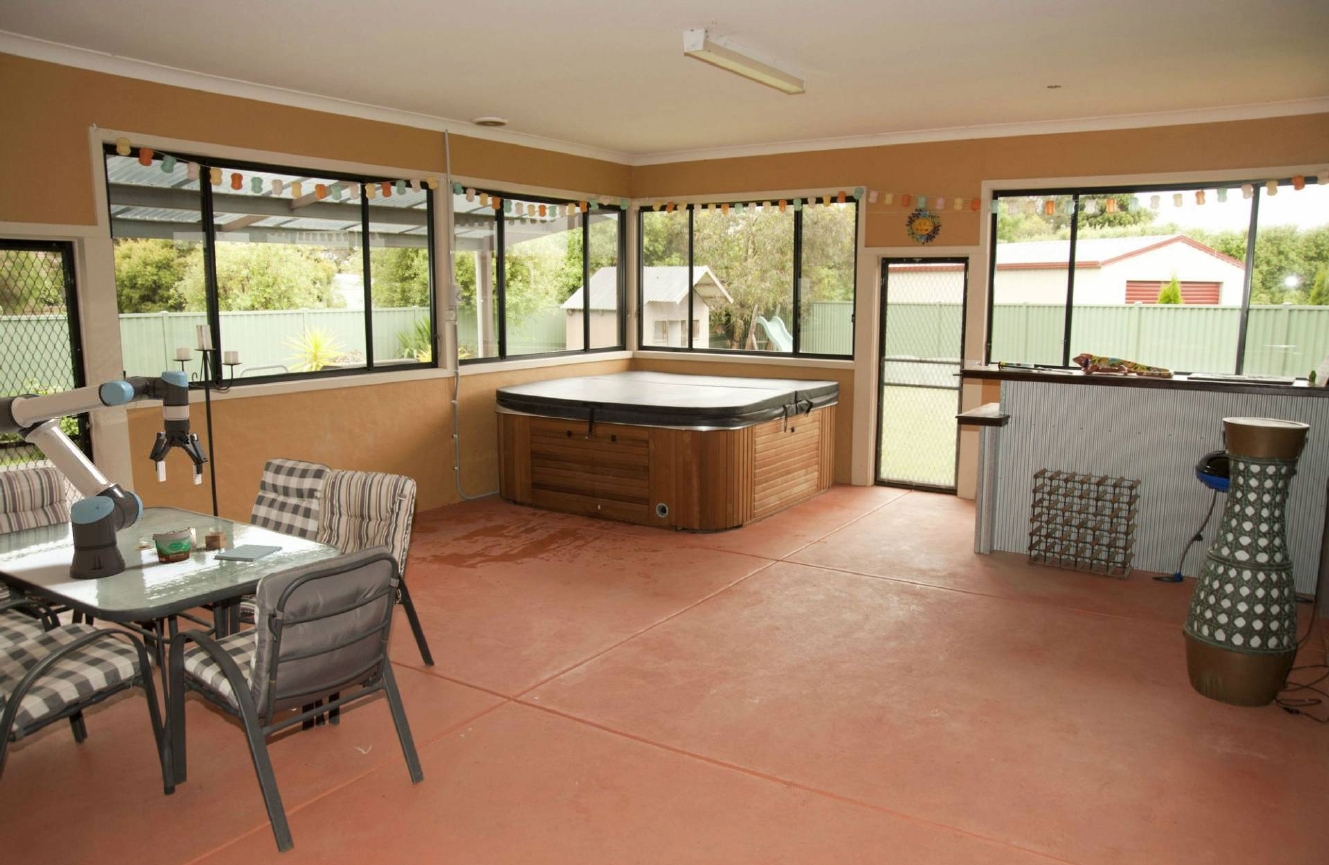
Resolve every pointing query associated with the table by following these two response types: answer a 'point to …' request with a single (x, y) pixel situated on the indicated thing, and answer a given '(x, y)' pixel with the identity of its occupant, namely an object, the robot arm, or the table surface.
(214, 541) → the walnut block
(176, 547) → the food container
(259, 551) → the teal board
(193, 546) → the cream cylinder
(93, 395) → the robot arm
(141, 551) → the table surface
